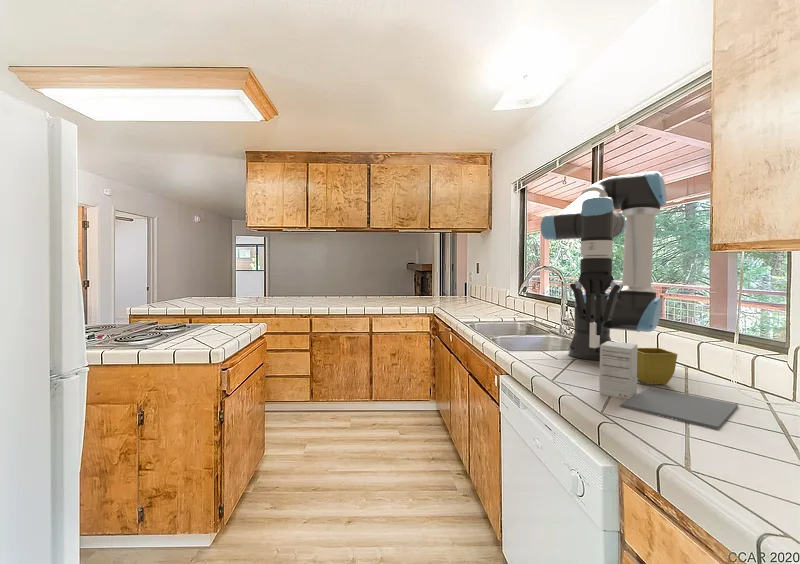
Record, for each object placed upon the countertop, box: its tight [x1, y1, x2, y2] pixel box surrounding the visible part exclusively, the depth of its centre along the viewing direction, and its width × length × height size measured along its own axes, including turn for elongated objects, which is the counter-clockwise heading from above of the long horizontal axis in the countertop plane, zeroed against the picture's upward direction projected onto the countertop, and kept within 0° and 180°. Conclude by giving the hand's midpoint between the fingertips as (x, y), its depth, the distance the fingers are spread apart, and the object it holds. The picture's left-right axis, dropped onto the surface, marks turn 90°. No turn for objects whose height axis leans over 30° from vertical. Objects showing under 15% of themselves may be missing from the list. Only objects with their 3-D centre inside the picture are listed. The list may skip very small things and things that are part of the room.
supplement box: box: [598, 340, 638, 400], centre depth 104 cm, size 7×7×13 cm
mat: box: [620, 387, 739, 430], centre depth 94 cm, size 20×18×1 cm
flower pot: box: [637, 347, 678, 386], centre depth 114 cm, size 9×9×9 cm
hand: (594, 347), depth 108 cm, fingers closed
